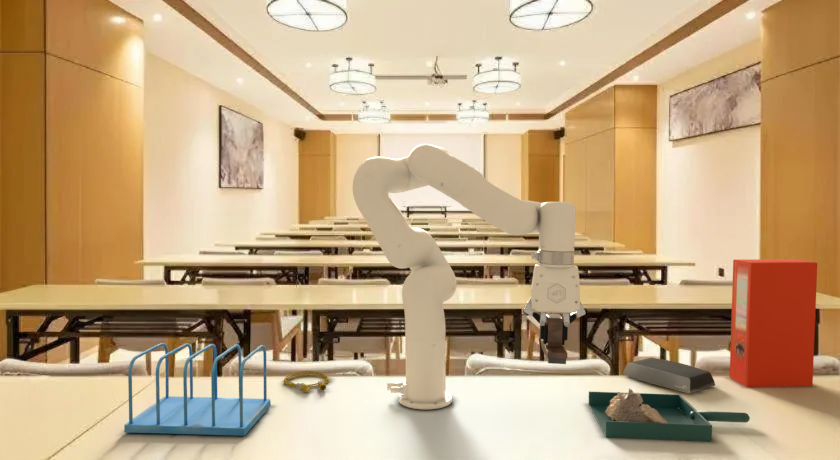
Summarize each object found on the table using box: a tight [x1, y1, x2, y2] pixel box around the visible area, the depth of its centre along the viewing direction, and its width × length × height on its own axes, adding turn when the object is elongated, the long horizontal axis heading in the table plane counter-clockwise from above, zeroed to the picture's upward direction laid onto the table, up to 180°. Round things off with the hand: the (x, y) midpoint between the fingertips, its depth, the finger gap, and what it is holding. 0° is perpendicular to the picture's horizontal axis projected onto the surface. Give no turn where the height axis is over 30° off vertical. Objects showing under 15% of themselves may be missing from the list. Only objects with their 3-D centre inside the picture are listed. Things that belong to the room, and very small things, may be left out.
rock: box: [605, 388, 668, 423], centre depth 123 cm, size 6×14×7 cm, turn 32°
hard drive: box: [622, 357, 716, 394], centre depth 154 cm, size 13×19×4 cm
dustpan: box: [588, 391, 751, 442], centre depth 125 cm, size 31×19×3 cm, turn 84°
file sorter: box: [123, 342, 272, 437], centre depth 126 cm, size 25×17×15 cm
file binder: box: [729, 258, 818, 388], centre depth 153 cm, size 8×17×32 cm, turn 93°
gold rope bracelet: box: [283, 370, 330, 393], centre depth 152 cm, size 12×16×2 cm
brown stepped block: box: [539, 313, 568, 365], centre depth 127 cm, size 4×14×9 cm, turn 174°
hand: (553, 342), depth 127 cm, fingers closed on brown stepped block, 3 cm apart
